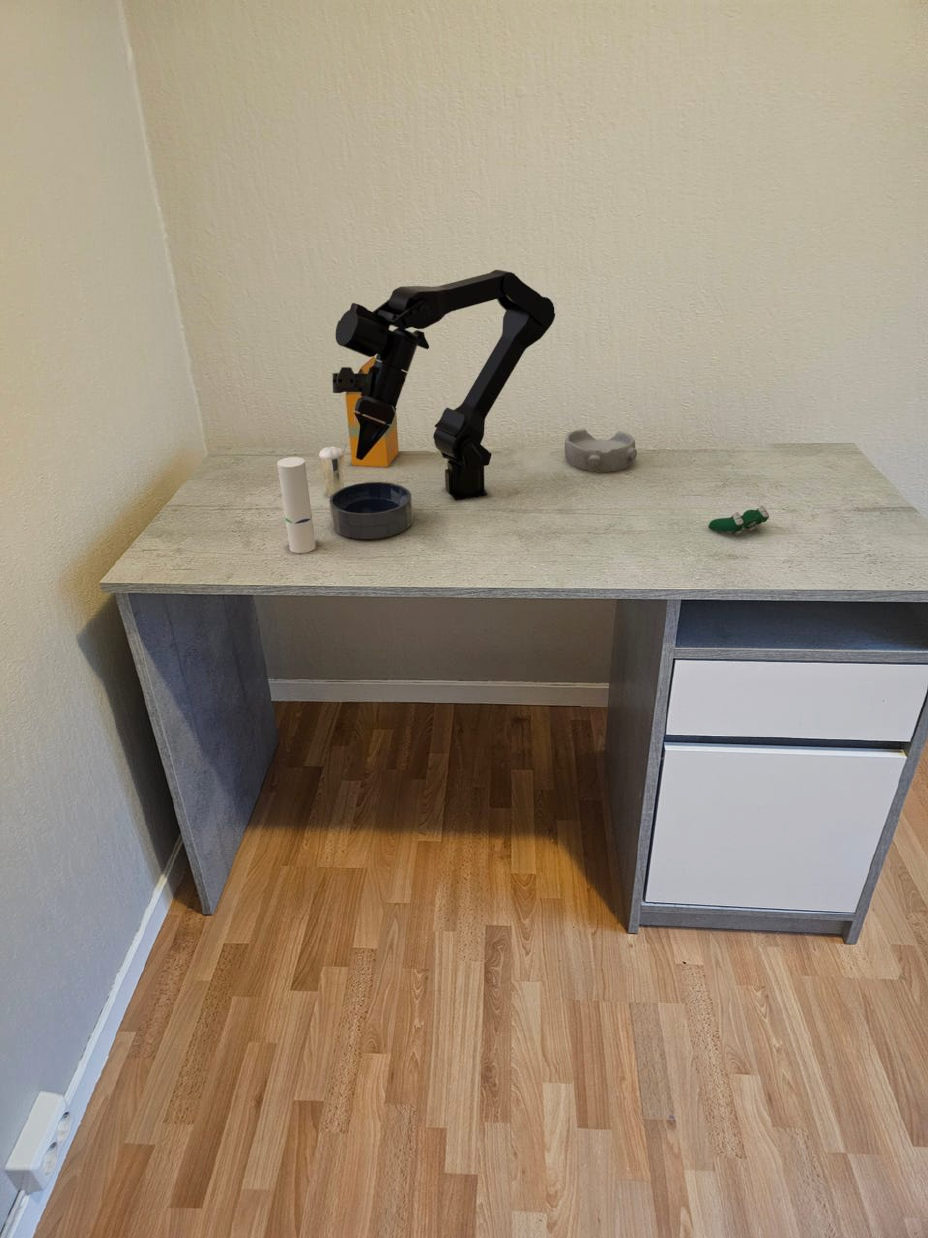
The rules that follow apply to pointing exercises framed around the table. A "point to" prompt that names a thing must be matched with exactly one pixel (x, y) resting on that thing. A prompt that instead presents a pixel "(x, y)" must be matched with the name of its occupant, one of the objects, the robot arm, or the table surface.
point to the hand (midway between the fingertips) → (360, 456)
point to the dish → (599, 451)
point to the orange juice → (387, 443)
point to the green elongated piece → (740, 521)
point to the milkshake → (332, 468)
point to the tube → (296, 504)
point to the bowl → (371, 510)
